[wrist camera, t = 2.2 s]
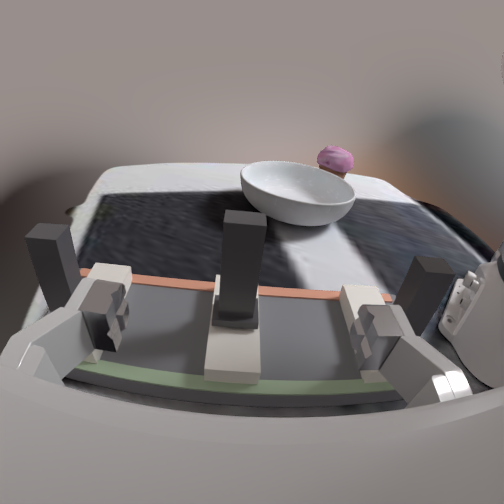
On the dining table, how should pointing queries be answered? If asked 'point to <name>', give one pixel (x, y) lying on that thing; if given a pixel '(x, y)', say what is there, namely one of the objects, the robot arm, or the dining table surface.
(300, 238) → the dining table surface
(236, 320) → the block
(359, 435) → the robot arm
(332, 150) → the cupcake
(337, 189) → the serving bowl
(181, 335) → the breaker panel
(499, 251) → the plastic bottle
